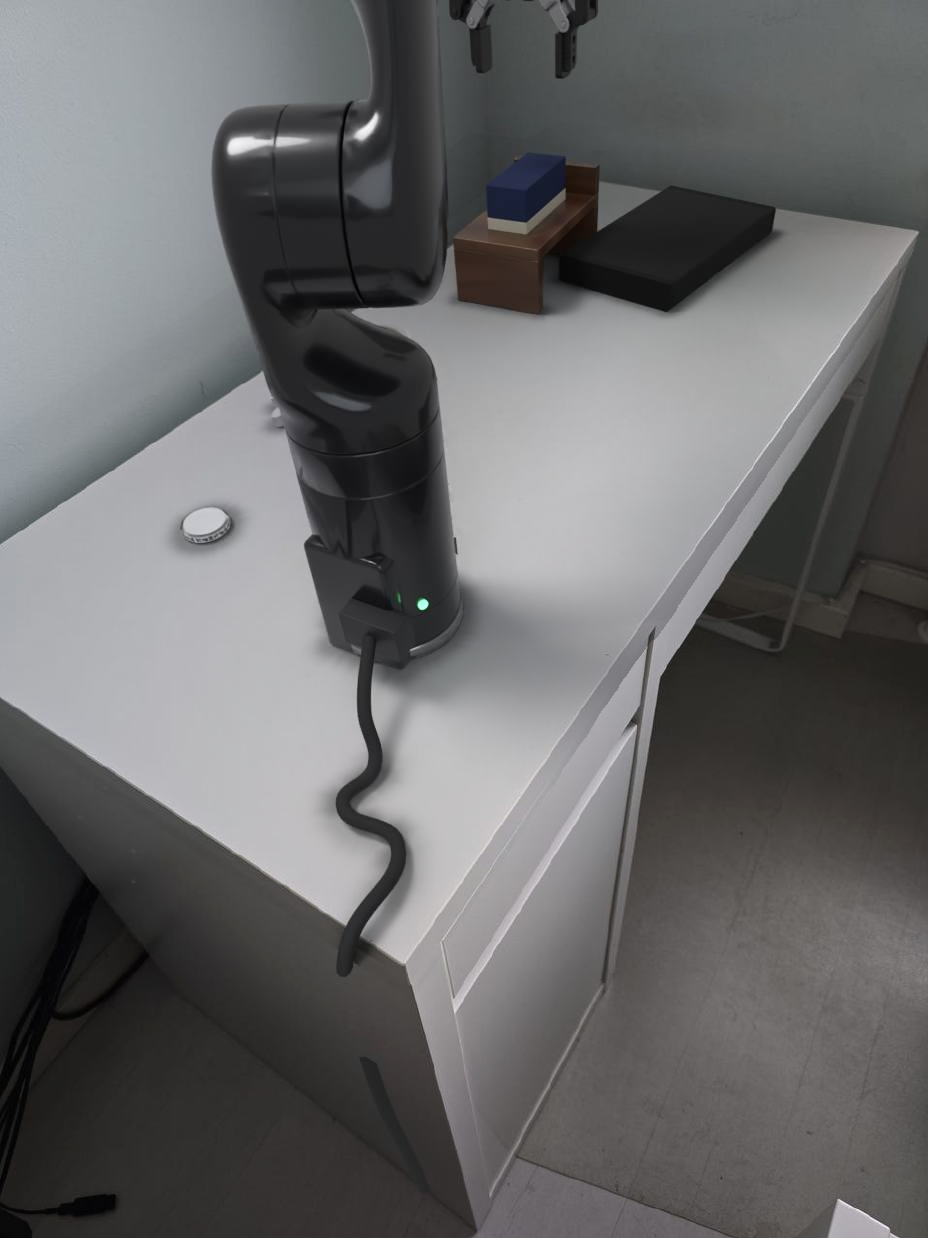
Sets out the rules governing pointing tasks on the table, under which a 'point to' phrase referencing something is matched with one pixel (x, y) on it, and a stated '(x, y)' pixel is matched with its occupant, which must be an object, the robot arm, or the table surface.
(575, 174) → the shelf
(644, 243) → the external hard drive
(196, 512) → the white bottle cap
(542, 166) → the whiteboard eraser
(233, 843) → the table surface
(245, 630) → the table surface
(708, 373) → the table surface
